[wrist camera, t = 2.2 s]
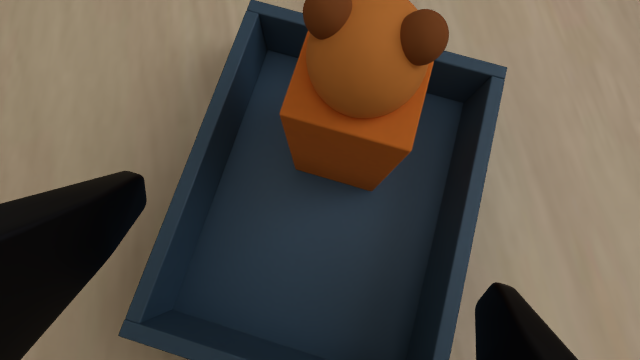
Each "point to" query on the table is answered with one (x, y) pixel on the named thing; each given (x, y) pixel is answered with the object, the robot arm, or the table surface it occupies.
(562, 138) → the table surface
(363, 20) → the toy bear
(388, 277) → the tray
